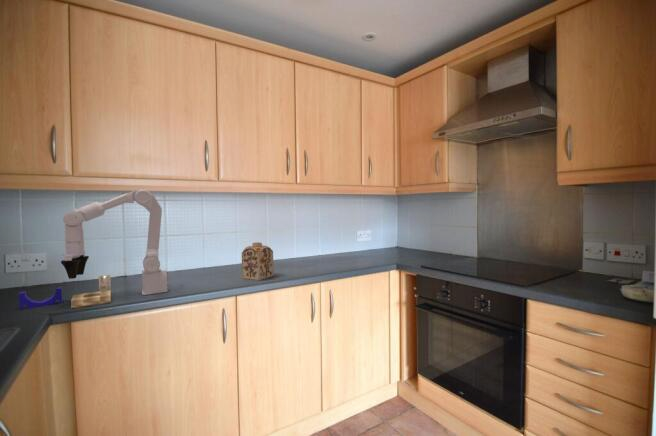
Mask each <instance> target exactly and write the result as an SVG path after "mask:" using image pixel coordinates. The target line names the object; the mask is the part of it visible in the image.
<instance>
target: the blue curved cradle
mask: <svg viewBox="0 0 656 436" xmlns="http://www.w3.org/2000/svg"><path fill="white" fill-rule="evenodd" d="M62 288H63V287H62V286H60V287H56V289H55V293H54V294H53V295H52V296H50V297H49V298H46V299H43V300H41V301H40V300H39V301H38V300H34V299H31V298H30V297H29V296H28V295H27V292H26V291H20V292H19V293H18V301H19V303H18V305H19V310H25V309H31V308H38V307H45V305H47V306H53V305H52V304H54V305H60V304H59V303H61V304H63V289H62ZM24 305H26V306H24Z"/></svg>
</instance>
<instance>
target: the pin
mask: <svg viewBox="0 0 656 436" xmlns="http://www.w3.org/2000/svg"><path fill="white" fill-rule="evenodd" d="M111 283H112V282H111V275H110V274H103V275H99V276H98V289H99V291H98V292H101V291H108V290H111V289H112V288H111V285H112V284H111ZM111 291H112V290H111Z"/></svg>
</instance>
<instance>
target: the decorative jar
mask: <svg viewBox="0 0 656 436" xmlns="http://www.w3.org/2000/svg"><path fill="white" fill-rule="evenodd" d="M274 268H275V267H274V251H273V249H271V247H270V246H268V245H263V243H262V242H259V241H258V242H255V241H254V242H252V245H249V246H246V247H245V248H244V249H243V250H242V252H241V277H242V279H244V280H250V281H252V280H253V281H263V280H265V279H268V278H273V277H274V275H275V274H274V271H275V270H274Z"/></svg>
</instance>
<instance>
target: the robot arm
mask: <svg viewBox="0 0 656 436" xmlns="http://www.w3.org/2000/svg"><path fill="white" fill-rule="evenodd" d="M135 203H137V204H138V205H139V206H142V207H143V208H144V209H145V210H146V211H147V212H148V213H149V219H148V231H147V242H146V251H145V257H144V258H143V260H142V266H143V270H142V272H141V274H142V277H141V278H142V290H141V294H142V296H146V295H153V294H160V293H168V273H167V270H162V269H161V268H160V267H161V262H160V260H159V248H160V247H159V246H160V237H161V236H160V235H161V226H162V225H161V223H162V214H163V209H162V206H161V205H160V203H159V202H158V200H157V199H156V197H155V195H154V194H152V193H151V192H150V191H148V189H144V188H143V189H138V190H134V191H131V192H127V193H124V194H122V195H119V196H116V197H114V198H112V199H109V200H107V201H104V202H102V203H100V202H99V201H98V202H97V201H95V202H93V201H91V202H90V201H89V202H88V204H86V205H85V206H82V207H76V208H74V210H69V211H68V212H66V213H65V214H63V217H62V221H63V223H64V229H65V230H64V239H65V242H64V243H65V245H64V247H65V253H62V255H61V256H63V257H64V259H63V260H61V261H60V263H61V265H62V266H63V267H64V269H65V271H66V274H67V277H68V279H69V280H71V279H77V276H79V275H80V276H81V275H84V273H85V269H86V264H87V261H88V260H89V258H90V257H89V255H86V251H85V240H84V237H85V236H84V228H83V223H84V222H89V221H91V220H94V219H96V218H99V217H101V216H104V214H105V212H106V211H107V210H110V209H113V208H116V207H119V206H121V205H125V204H135Z"/></svg>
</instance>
